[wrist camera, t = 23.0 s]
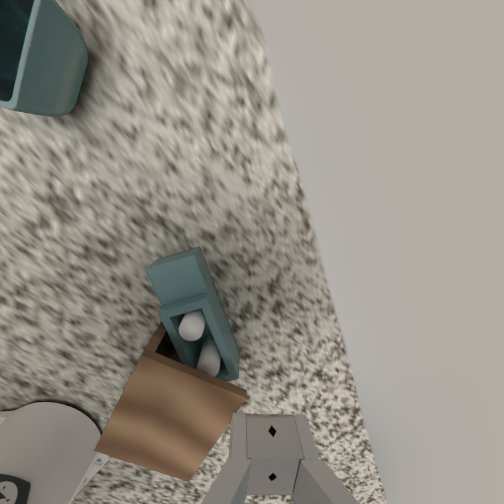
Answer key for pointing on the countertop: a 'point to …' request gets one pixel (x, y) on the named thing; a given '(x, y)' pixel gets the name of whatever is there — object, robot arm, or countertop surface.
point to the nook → (169, 415)
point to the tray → (191, 296)
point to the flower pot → (40, 58)
